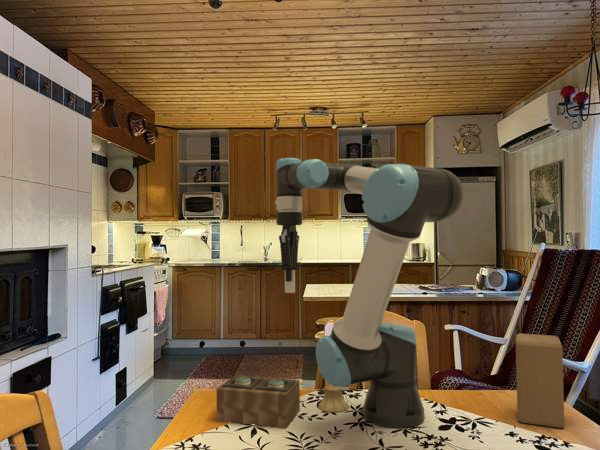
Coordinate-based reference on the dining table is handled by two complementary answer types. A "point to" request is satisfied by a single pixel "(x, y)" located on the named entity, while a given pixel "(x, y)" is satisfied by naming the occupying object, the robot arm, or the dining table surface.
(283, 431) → the dining table surface
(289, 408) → the socket block
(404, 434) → the dining table surface
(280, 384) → the peg
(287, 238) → the robot arm
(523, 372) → the block
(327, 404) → the hand bell
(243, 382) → the peg
